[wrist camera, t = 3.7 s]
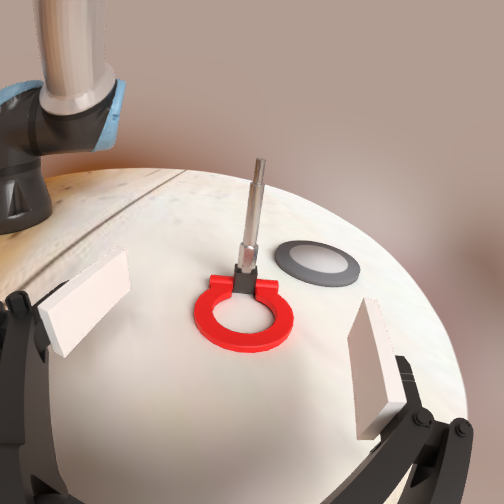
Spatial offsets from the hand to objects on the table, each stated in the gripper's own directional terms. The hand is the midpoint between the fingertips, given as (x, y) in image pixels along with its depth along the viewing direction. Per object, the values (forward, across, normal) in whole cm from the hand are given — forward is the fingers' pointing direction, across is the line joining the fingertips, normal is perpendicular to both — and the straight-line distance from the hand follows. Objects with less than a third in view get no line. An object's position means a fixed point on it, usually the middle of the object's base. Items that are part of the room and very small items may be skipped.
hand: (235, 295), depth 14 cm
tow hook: (+7, 0, -7) cm, 10 cm away
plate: (+21, +6, -7) cm, 23 cm away
